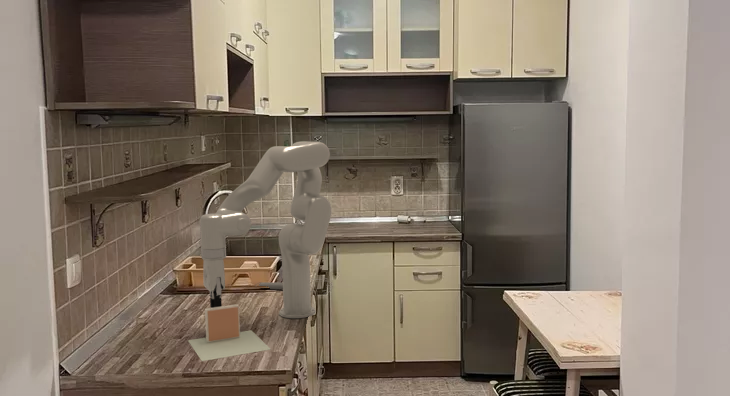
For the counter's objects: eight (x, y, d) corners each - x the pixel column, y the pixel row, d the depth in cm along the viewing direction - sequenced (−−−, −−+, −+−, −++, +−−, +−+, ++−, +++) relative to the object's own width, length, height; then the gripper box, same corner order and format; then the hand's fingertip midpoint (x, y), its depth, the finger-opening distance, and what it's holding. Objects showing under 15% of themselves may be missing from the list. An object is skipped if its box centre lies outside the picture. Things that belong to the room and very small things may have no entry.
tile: (206, 340, 200) (204, 308, 199) (238, 335, 204) (237, 304, 203) (207, 342, 198) (206, 310, 197) (240, 337, 202) (239, 305, 201)
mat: (187, 342, 201) (187, 340, 201) (251, 332, 209) (251, 330, 209) (202, 363, 183) (201, 361, 183) (270, 351, 192) (270, 349, 191)
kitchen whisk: (259, 286, 269) (258, 271, 268) (335, 293, 257) (335, 277, 256) (251, 290, 263) (251, 275, 262) (329, 297, 251) (329, 281, 251)
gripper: (196, 250, 211) (199, 306, 213) (207, 258, 197) (209, 318, 199) (219, 248, 214) (222, 303, 216) (231, 256, 200) (234, 314, 203)
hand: (216, 310), depth 208 cm, fingers closed
